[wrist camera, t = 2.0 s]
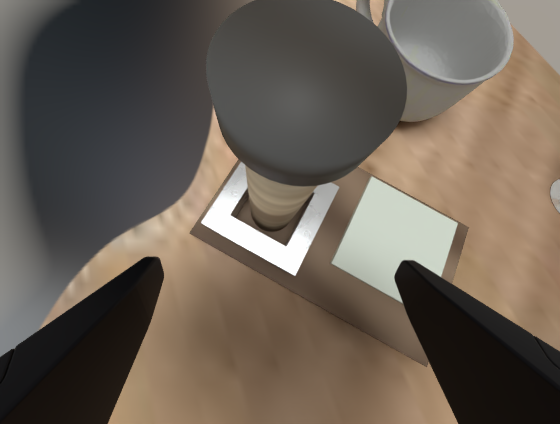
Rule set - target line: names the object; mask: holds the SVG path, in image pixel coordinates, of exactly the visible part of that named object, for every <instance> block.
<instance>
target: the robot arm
mask: <svg viewBox="0 0 560 424" xmlns="http://www.w3.org/2000/svg"><path fill="white" fill-rule="evenodd" d="M394 279H395V283H396V285H397V288H398V291H399V294H400V297H401V299H402V302H403V305H404V308H405V310H406V313H407V316H408V318H409V320H410V323H411V325H412V327H413V329H414V331H415V333H416V335H417V337H418V340H419V342H420V344H421V346H422V348H423V350H424V352H425V354H426V356H427V359H428V361H429V363H430V365H431V367H432V369H433V371H434V373H435V375H436V378H437V380H438V382H439V384H440V386H441V388H442V390H443V392H444V394H445V397H446V399H447V401H448V403H449V405H450V407H451V409H452V411H453V413H454V416H455V418H456V420H457V422H458V424H560V351H558V350H556V349H555V348H553V347H552V346H550V345H548V344H547V343H545V342H544V341H542V340H540V339H539V338H537V337H536V336H533V335H532V334H531V333H529V332H528V331H526V330H524V329H523V328H521V327H520V326H518V325H517V324H515V323H513V322H512V321H510V320H509V319H507V318H505V317H504V316H502V315H501V314H499V313H497V312H496V311H494V310H493V309H491V308H489V307H488V306H486V305H485V304H483V303H481V302H480V301H478V300H477V299H475V298H473V297H472V296H470V295H469V294H467V293H466V292H464V291H462V290H461V289H459V288H458V287H456V286H454V285H453V284H451V283H450V282H448V281H446V280H445V279H443V278H442V277H440V276H438V275H437V274H435V273H434V272H432V271H431V270H429V269H427V268H426V267H424V266H423V265H421V264H419V263H418V262H416V261H414V260H403V261H401V263H400V265H399V267H398V269H397V271H396V273H395V275H394ZM163 280H164V271H163V268H162V265H161V261H160V259H159V257H144V258H143V259H141V260H140V261H138V262H137V263H136V264H134V265H133V266H131V267H130V268H128V269H127V270H125V271H124V272H123V273H121V274H120V275H118V276H117V277H115V278H114V279H112V280H111V281H110V282H108V283H107V284H105V285H104V286H102V287H101V288H99V289H98V290H97V291H95V292H94V293H92V294H91V295H89V296H88V297H86V298H85V299H84V300H82V301H81V302H79V303H78V304H76V305H75V306H73V307H72V308H70V309H69V310H68V311H66V312H65V313H63V314H62V315H60V316H59V317H57V318H56V319H55V320H53V321H52V322H50V323H49V324H47V325H46V326H44V327H43V328H42V329H40V330H39V331H37V332H36V333H34V334H33V335H31V336H30V337H29V338H27V339H26V340H25V341H23V342H21V343H20V344H18V345H17V346H16V348H15V349H11V350H10V351H8V352H7V353H5V354H4V355H2V356H1V357H0V424H108V422H109V419H110V417H111V415H112V412H113V410H114V407H115V405H116V403H117V400H118V398H119V396H120V393H121V391H122V389H123V386H124V384H125V382H126V379H127V377H128V374H129V372H130V370H131V367H132V365H133V363H134V360H135V358H136V356H137V353H138V351H139V349H140V346H141V344H142V341H143V339H144V337H145V334H146V332H147V330H148V327H149V325H150V322H151V319H152V316H153V313H154V310H155V306H156V303H157V300H158V296H159V293H160V290H161V286H162V283H163Z"/></svg>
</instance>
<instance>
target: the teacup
mask: <svg viewBox="0 0 560 424" xmlns="http://www.w3.org/2000/svg"><path fill="white" fill-rule="evenodd" d="M356 11H357V12H359V13H360V14H362V15H363V16H365V17H366V18H367V19H369V20H370V21H371V22H373V20H372V17H371V12H370V0H357V3H356ZM378 28H379V29H380V30H381V31H382V32H383V33H384V34H385V35H386V36H387V38H388V39H389V40H390V42H391V43H392V45H393V46H394V48H395V50H396V51H397V53H398V55H399V57H400V59H401V62H402V64H403V67H404V71H405V75H406V82H407V99H406V104H405V109H404V112H403V114H402V117H401V119H400V121H406V122H417V121H423V120H427V119H429V118H432V117H434V116H436V115H438V114H440V113H442V112H444V111H445V110H447V109H448V108H450V107H451V106H453V105H454V104H455V103H457V102H458V101H459V100H461V99H462V98H463V97H465V96H466V95H467V94H469V93H470V92H471V91H473V90H474V89H475V88H476V87H478V86H479V85H480V84H482V83H483V82H484V81H486V80H488V79H490V78H492V77H493V76H494V75H496V74H497V73H498V72H500V71H501V70H502V69H503V67H504V66H505V65H506V64H507V62H508V60H509V58H510V56H511V53H512V50H513V32H512V27H511V25H510V21H509V19H508V16H507V15H506V13H505V11H504V10H503V9H502V7H501V5H500V4H499V2H498V1H497V0H384V8H383V12H382V19H381V21H380V23H379V25H378Z"/></svg>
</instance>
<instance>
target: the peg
mask: <svg viewBox="0 0 560 424" xmlns="http://www.w3.org/2000/svg"><path fill="white" fill-rule="evenodd" d="M206 76H207V82H208V87H209V90H210V94H211V98H212V101H213V105H214V109H215V112H216V116H217V120H218V123H219V127H220V129H221V132H222V135H223V137H224V139H225V141H226V143H227V145H228V146H229V148H230V149H231V151H232V152H233V153H234V154H235V156H236V157H237V158H238V159H239V160H240V161H241V162H242V163H243V164H245V169H246V177H247V185H248V193H249V201H250V209H251V216H252V219H253V221H254V223H255V224H256V225H257V226H258V227H259V228H260V229H262V230H264V231H268V232H276V231H279V230H281V229H283V228H285V227H286V226H287V225H288V223H289V222H290V221H291V219H292V218H293V217H294V216H295V214H296V213H297V212H298V210H299V209H300V208H301V207H302V205H303V204H304V203H305V201H306V200H307V199H308V198H309V196H310V195H311V194H312V192H313V191H314V190H315V189H316V187H317V186H318V185H323V184H327V183H330V182H333V181H336V180H338V179H340V178H342V177H344V176H346V175H348V174H349V173H350V172H352V171H353V170H354V169H356V168H357V167H358V166H359V165H360V164H361V163H362V162H363V161H364V160H365V159H366V158H367V157H368V156H369V155H370V154H371V153H372V152H373V151H374V150H375V149H377V148H378V147H379V146H380V145H381V144H382V143H383V142H384V141H385V140H386V139H387V138H388V137H389V136H390V134H391V133H392V132H393V131H394V129H395V128H396V127H397V125H398V123H399V121H400V119H401V117H402V114H403V112H404V109H405V104H406V99H407V82H406V75H405V71H404V67H403V64H402V62H401V59H400V57H399V55H398V53H397V51H396V50H395V48H394V46H393V45H392V43H391V42H390V40H389V39H388V38H387V36H386V35H385V34H384V33H383V32H382V31H381V30H380V29H379V28H378V27H377V26H376V25H375V24H374V23H373V22H371V21H370V20H369V19H367V18H366V17H365V16H363V15H362V14H360V13H359V12H357V11H355V10H354V9H352V8H350V7H348V6H346V5H344V4H342V3H339V2H336V1H334V0H255V1H252V2H250V3H248V4H246V5H244V6H242V7H241V8H239V9H237V10H236V11H235V12H233V13H232V14H231V15H230V16H229V17H228V18H227V19H226V20H225V21H224V22H223V23H222V24H221V25H220V27H219V28H218V29H217V31H216V32H215V34H214V36H213V39H212V40H211V43H210V46H209V49H208V52H207V59H206Z"/></svg>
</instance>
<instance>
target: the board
mask: <svg viewBox="0 0 560 424" xmlns="http://www.w3.org/2000/svg"><path fill="white" fill-rule="evenodd" d="M240 163H241V161H240V160H239V159H238V161H237V162H236V164H235V165H234V167H233V168H232V170H231V171H230V173H229V174H228V176H227V177H226V179H225V180H224V182H223V183H222V185H221V186H220V188H219V189H218V191H217V192H216V194H215V195H214V197H213V198H212V200H211V201H210V203H209V204H208V206H207V207H206V209H205V210H204V212H203V213H202V215H201V216H200V218H199V219H198V221H197V222H196V224H195V225H194V227H193V228H192V230H191V231H190V234H192V235H193V236H195V237H197V238H199V239H201V240H202V241H204V242H206V243H208V244H209V245H211V246H213V247H215V248H216V249H218V250H220V251H222V252H224V253H225V254H227V255H229V256H231V257H232V258H234V259H236V260H238V261H239V262H241V263H243V264H245V265H247V266H248V267H250V268H252V269H254V270H255V271H257V272H259V273H261V274H263V275H264V276H266V277H268V278H270V279H271V280H273V281H275V282H277V283H278V284H280V285H282V286H284V287H286V288H287V289H289V290H291V291H293V292H294V293H296V294H298V295H300V296H302V297H303V298H305V299H307V300H309V301H310V302H312V303H314V304H316V305H317V306H319V307H321V308H323V309H325V310H326V311H328V312H330V313H332V314H333V315H335V316H337V317H339V318H340V319H342V320H344V321H346V322H348V323H349V324H351V325H353V326H355V327H356V328H358V329H360V330H362V331H364V332H365V333H367V334H369V335H371V336H372V337H374V338H376V339H378V340H379V341H381V342H383V343H385V344H387V345H388V346H390V347H392V348H394V349H395V350H397V351H399V352H401V353H403V354H404V355H406V356H408V357H410V358H411V359H413V360H415V361H417V362H418V363H420V364H422V365H424V366H426V367H427V365H428V362H429V361H428V359H427V356H426V354H425V352H424V350H423V348H422V346H421V344H420V342H419V340H418V337H417V335H416V333H415V331H414V329H413V327H412V325H411V323H410V320H409V318H408V316H407V313H406V310H405V308H404V305H403V304H402V303H400V302H398V301H396V300H394V299H393V298H391V297H389V296H387V295H386V294H384V293H382V292H380V291H378V290H377V289H375V288H373V287H371V286H369V285H368V284H366V283H364V282H362V281H360V280H359V279H357V278H355V277H353V276H352V275H350V274H348V273H346V272H344V271H343V270H341V269H339V268H337V267H335V266H334V265H332V264H330V262H331V260H332V257H333V255H334V253H335V251H336V249H337V247H338V244H339V242H340V240H341V238H342V236H343V234H344V232H345V229H346V227H347V225H348V223H349V221H350V219H351V216H352V214H353V212H354V210H355V208H356V206H357V203H358V201H359V199H360V197H361V195H362V193H363V191H364V188H365V186H366V184H367V182H368V180H369V178H370V177H374V178H376V179H378V180H380V181H381V182H383V183H385V184H387V185H389V186H391V187H392V188H394V189H396V190H398V191H400V192H402V193H403V194H405V195H407V196H409V197H411V198H413V199H414V200H416V201H418V202H420V203H422V204H424V205H425V206H427V207H429V208H431V209H433V210H435V211H436V212H438V213H440V214H442V215H444V216H446V217H448V218H449V219H451V220H453V221H455V222H457V223H458V225H457V228H456V231H455V234H454V237H453V241H452V244H451V247H450V250H449V253H448V256H447V260H446V263H445V266H444V269H443V272H442V275H441V277H442V278H443V279H445V280H446V281H448V282H450V283H451V284H452V282H453V278H454V275H455V272H456V268H457V265H458V262H459V258H460V255H461V252H462V248H463V245H464V242H465V238H466V235H467V232H468V228H469V227H467V226H465V225H464V224H462V223H460V222H458V221H456V220H454V219H453V218H451V217H449V216H447V215H445V214H443V213H442V212H440V211H438V210H436V209H434V208H432V207H431V206H429V205H427V204H425V203H423V202H421V201H420V200H418V199H416V198H414V197H412V196H410V195H409V194H407V193H405V192H403V191H401V190H399V189H398V188H396V187H394V186H392V185H390V184H388V183H386V182H385V181H383V180H381V179H379V178H377V177H375V176H374V175H372V174H370V173H368V172H366V171H364V170H363V169H361V168H359V167H357V168H356V169H354V170H353V171H352V172H350V173H349V174H348V175H346V176H344V177H342V178H340V179H338V180H336V181H333V182H331V183H333V184H335V185H337V186H339V189H338V191H337V193H336V195H335V197H334V199H333V201H332V203H331V205H330V207H329V209H328V211H327V213H326V215H325V217H324V219H323V221H322V223H321V225H320V227H319V229H318V231H317V233H316V235H315V237H314V239H313V241H312V243H311V245H310V247H309V249H308V251H307V253H306V255H305V257H304V259H303V261H302V263H301V265H300V267H299V269H298V271H297V273H296V275H295V276H294V275H291V274H289V273H287V272H285V271H284V270H282V269H280V268H278V267H276V266H275V265H273V264H271V263H269V262H268V261H266V260H264V259H262V258H260V257H259V256H257V255H255V254H253V253H252V252H250V251H248V250H246V249H244V248H243V247H241V246H239V245H237V244H236V243H234V242H232V241H230V240H228V239H227V238H225V237H223V236H221V235H220V234H218V233H216V232H214V231H212V230H211V229H209V228H207V227H206V226H205V225H203V224H202V223H201V222H202V220H203V219H204V217H205V216H206V214H207V213H208V211H209V210H210V208H211V207H212V205H213V204H214V202H215V201H216V199H217V197H218V196H219V194H220V193H221V191H222V190H223V188H224V187H225V185H226V184H227V182H228V181H229V179H230V178H231V176H232V175H233V173H234V172H235V170H236V169H237V167H238V166H239V164H240ZM307 203H308V202H307V201H305V203H304V204H303V205H302V207H301V208H300V209H299V210H298V212H297V213H296V214H295V216H294V217H293V218H292V219H291V221H290V222H289V223H288V225H287V226H286V227H285V228H283V229H281V230H279V231H276V232H268V231H264V230H262V229H260V228H259V227H258V226H257V225H256V224H255V223H254V221H253V219H252V216H251V209H250V201H249V197H248V199H247V200H246V202H245V204H244V205H243V207H242V208H241V210H240V212H239V213H238V215H237V217H236V219H237V220H239V221H241V222H243V223H245V224H246V225H248V226H250V227H252V228H253V229H255V230H257V231H259V232H261V233H262V234H264V235H266V236H268V237H270V238H271V239H273V240H275V241H277V242H279V243H280V244H282V245H284V246H285V244H286V242H287V240H288V238H289V236H290V234H291V233H292V231H293V229H294V227H295V225H296V223H297V221H298V219H299V218H300V216H301V214H302V212H303V210H304V208H305V206H306V204H307Z"/></svg>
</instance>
